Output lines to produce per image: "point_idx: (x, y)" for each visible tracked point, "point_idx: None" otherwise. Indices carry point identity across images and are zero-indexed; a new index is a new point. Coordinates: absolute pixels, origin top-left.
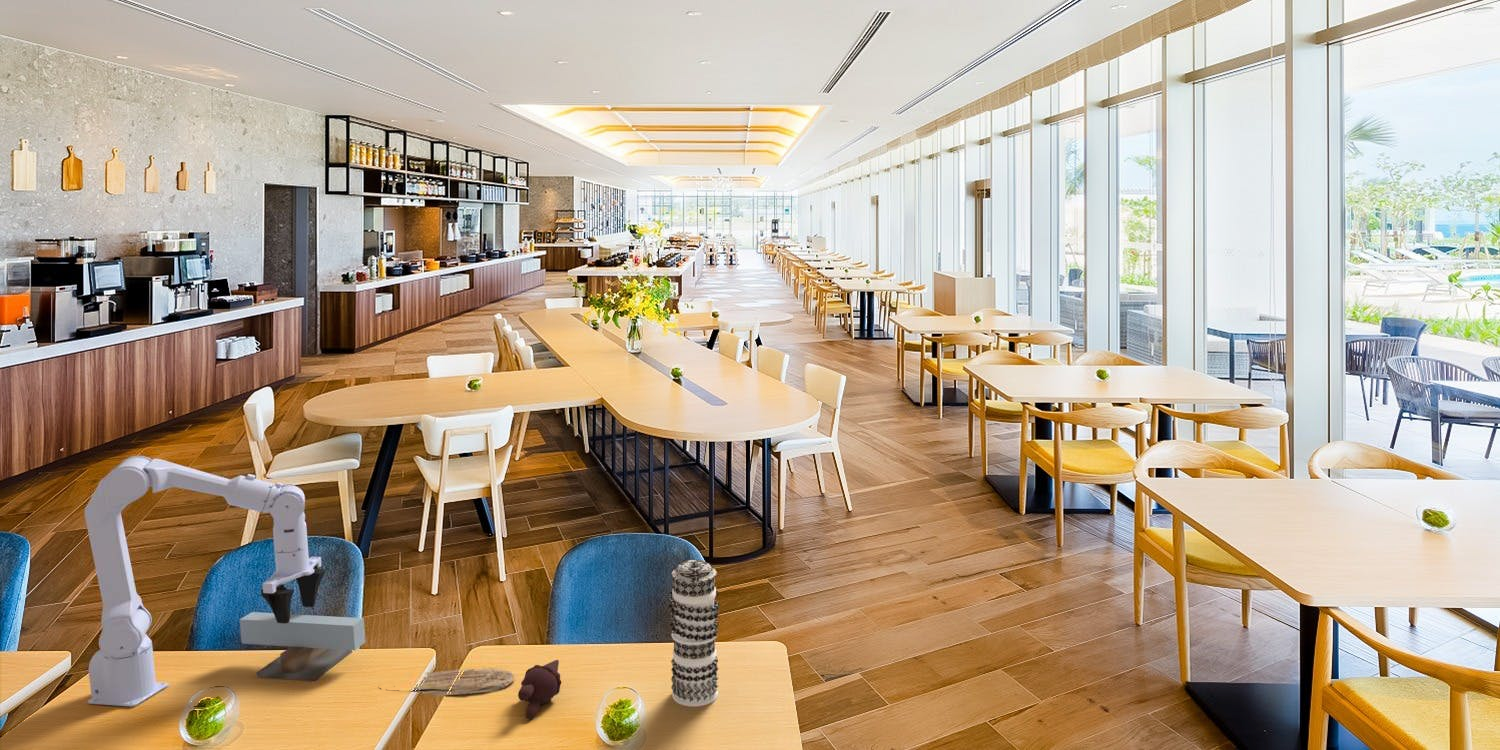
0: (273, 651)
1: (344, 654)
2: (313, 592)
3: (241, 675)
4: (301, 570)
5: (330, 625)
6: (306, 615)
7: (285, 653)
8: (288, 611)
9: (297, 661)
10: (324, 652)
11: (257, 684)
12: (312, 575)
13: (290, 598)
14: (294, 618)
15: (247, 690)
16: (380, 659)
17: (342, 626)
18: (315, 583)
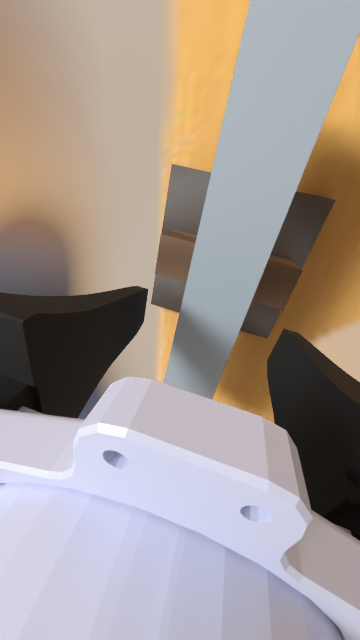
0: (162, 336)
1: (204, 171)
2: (116, 305)
3: (250, 358)
4: (272, 633)
5: (315, 136)
6: (187, 293)
7: (283, 298)
8: (317, 353)
9: (287, 262)
10: (193, 230)
11: (300, 323)
12: (48, 360)
13: (354, 394)
14: (208, 324)
15: (323, 332)
16: (232, 27)
17: (354, 37)
18: (86, 314)
